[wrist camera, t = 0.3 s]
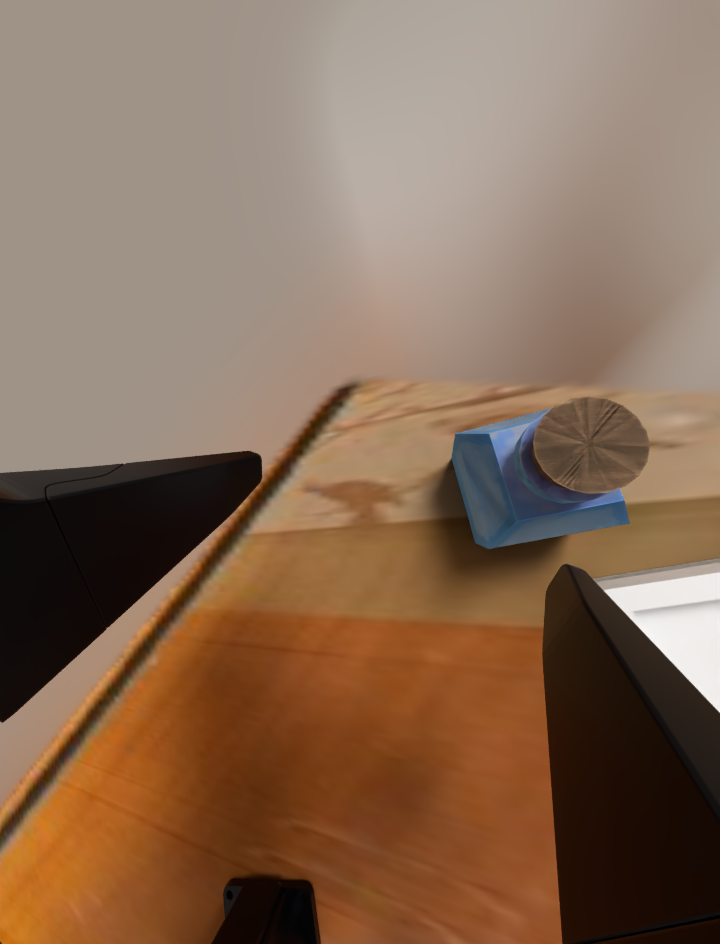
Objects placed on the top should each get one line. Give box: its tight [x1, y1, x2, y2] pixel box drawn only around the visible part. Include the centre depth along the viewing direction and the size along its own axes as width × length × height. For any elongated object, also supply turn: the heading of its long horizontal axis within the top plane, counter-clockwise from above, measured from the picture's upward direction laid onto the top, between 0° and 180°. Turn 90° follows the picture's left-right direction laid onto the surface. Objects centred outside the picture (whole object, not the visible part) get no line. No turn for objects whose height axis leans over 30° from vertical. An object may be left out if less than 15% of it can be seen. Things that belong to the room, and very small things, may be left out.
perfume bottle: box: [452, 397, 650, 549], centre depth 15 cm, size 6×6×12 cm
